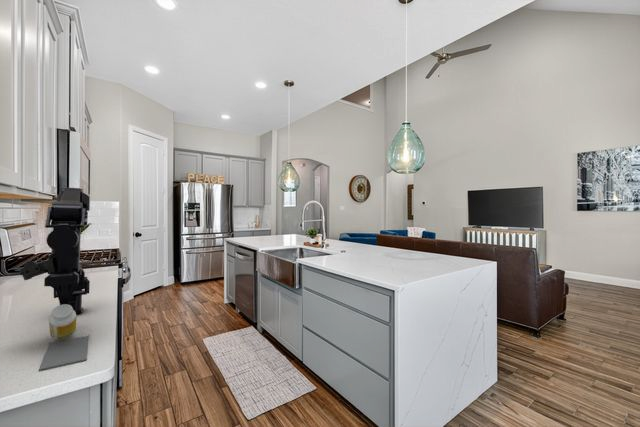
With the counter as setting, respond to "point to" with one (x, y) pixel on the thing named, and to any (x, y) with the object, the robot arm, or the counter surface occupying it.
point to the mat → (65, 353)
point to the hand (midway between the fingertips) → (63, 307)
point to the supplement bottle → (62, 322)
